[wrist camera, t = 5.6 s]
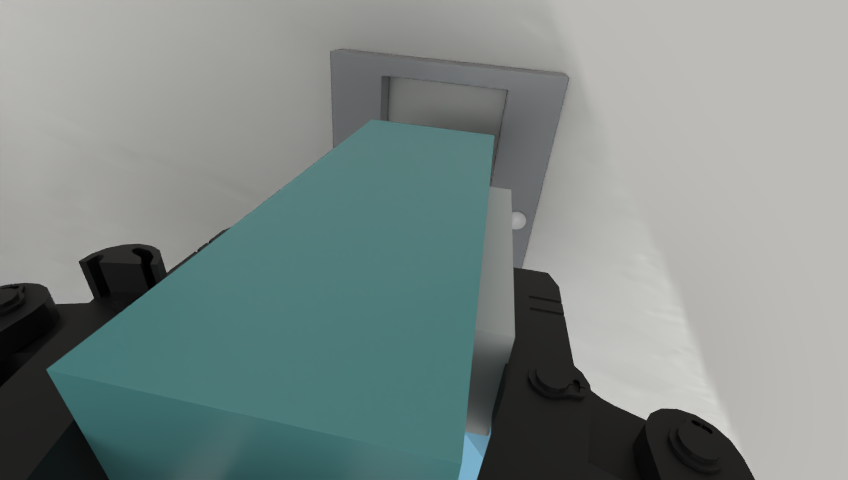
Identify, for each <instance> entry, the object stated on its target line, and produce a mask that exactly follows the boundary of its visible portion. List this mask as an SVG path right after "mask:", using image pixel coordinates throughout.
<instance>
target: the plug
mask: <svg viewBox="0 0 848 480" xmlns="http://www.w3.org/2000/svg"><path fill="white" fill-rule="evenodd" d="M494 136H495V135H488V134H481V133H473V132H465V131H458V130H450V129H442V128H435V127H427V126H419V125H412V124H404V123H396V122H389V121H381V120H373V119H372V120H370V121H369V122H368V123H366V124H365V125H364V126H363V127H361V128H360V129H359V130H357V131H356V132H355V133H353V134H352V135H351V136H350V137H348V138H347V139H346V140H344V141H343V142H342V143H340V144H339V145H338V146H337V147H335V148H334V149H333V150H331V151H330V152H329V153H327V154H326V155H325V156H324V157H322V158H321V159H320V160H318V161H317V162H316V163H314V164H313V165H312V166H310V167H309V168H308V169H307V170H305V171H304V172H303V173H301V174H300V175H299V176H297V177H296V178H295V179H294V180H292V181H291V182H290V183H288V184H287V185H286V186H284V187H283V188H282V189H281V190H279V191H278V192H277V193H275V194H274V195H273V196H271V197H270V198H269V199H268V200H266V201H265V202H264V203H262V204H261V205H260V206H258V207H257V208H256V209H255V210H253V211H252V212H251V213H249V214H248V215H247V216H245V217H244V218H243V219H242V220H240V221H239V222H238V223H236V224H235V225H234V226H232V227H231V228H230V229H229V230H227V231H226V232H225V233H223V234H222V235H221V236H219V237H218V238H217V239H215V240H214V241H213V242H212V243H210V244H209V245H208V246H206V247H205V248H204V249H202V250H201V251H200V252H199V253H197V254H196V255H195V256H193V257H192V258H191V259H189V260H188V261H187V262H186V263H184V264H183V265H182V266H180V267H179V268H178V269H176V270H175V271H174V272H173V273H171V274H170V275H169V276H167V277H166V278H165V279H163V280H162V281H161V282H160V283H158V284H157V285H156V286H154V287H153V288H152V289H150V290H149V291H148V292H147V293H145V294H144V295H143V296H141V297H140V298H139V299H137V300H136V301H135V302H133V303H132V304H131V305H130V306H128V307H127V308H126V309H124V310H123V311H122V312H120V313H119V314H118V315H117V316H115V317H114V318H113V319H111V320H110V321H109V322H107V323H106V324H105V325H104V326H102V327H101V328H100V329H98V330H97V331H96V332H94V333H93V334H92V335H91V336H89V337H88V338H87V339H85V340H84V341H83V342H81V343H80V344H79V345H78V346H76V347H75V348H74V349H72V350H71V351H70V352H68V353H67V354H66V355H65V356H63V357H62V358H61V359H59V360H58V361H57V362H55V363H54V364H53V365H52V366H50V367H49V368H48V369H46V370H47V372H48V374H49V375H50V377H51V379H52V381H53V382H54V384H55V386H56V388H57V389H58V391H59V393H60V395H61V396H62V398H63V400H64V402H65V403H66V405H67V407H68V409H69V410H70V412H71V414H72V415H73V417H74V419H75V421H76V422H77V424H78V426H79V428H80V429H81V431H82V433H83V435H84V436H85V438H86V440H87V442H88V443H89V445H90V447H91V449H92V450H93V452H94V454H95V455H96V457H97V459H98V461H99V462H100V464H101V466H102V468H103V469H104V471H105V473H106V475H107V476H108V478H109V480H458V478H459V474H460V469H461V465H462V456H463V446H464V436H465V426H466V416H467V406H468V396H469V386H470V376H471V366H472V356H473V346H474V336H475V326H476V316H477V306H478V296H479V286H480V276H481V266H482V256H483V246H484V236H485V226H486V216H487V206H488V196H489V186H490V176H491V166H492V156H493V146H494Z"/></svg>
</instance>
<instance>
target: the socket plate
mask: <svg viewBox="0 0 848 480" xmlns="http://www.w3.org/2000/svg"><path fill="white" fill-rule="evenodd" d="M330 60H331V90H332V120H333V149H334V148H335V147H337V146H338V145H339V144H340V143H342V142H343V141H344V140H346V139H347V138H348V137H350V136H351V135H352V134H353V133H355V132H356V131H357V130H359V129H360V128H361V127H363V126H364V125H365V124H366V123H368V122H369V121H370V120H372V119H373V120H381V121H387V118H388V90H389V76H391V77H399V78H408V79H417V80H425V81H434V82H443V83H451V84H460V85H469V86H477V87H486V88H495V89H503V90H507V96H506V101H505V107H504V113H503V118H502V124H501V129H500V135H499V140H498V146H497V152H496V157H495V163H494V168H493V174H492V179H491V185H490V187H496V188H503V189H510V190H511V200H512V238H513V267H515V268H521V269H522V265H523V261H524V257H525V253H526V249H527V245H528V241H529V237H530V233H531V229H532V225H533V221H534V217H535V213H536V209H537V205H538V201H539V197H540V193H541V189H542V185H543V181H544V177H545V173H546V169H547V165H548V161H549V157H550V153H551V149H552V145H553V141H554V137H555V133H556V129H557V125H558V121H559V117H560V113H561V109H562V105H563V101H564V97H565V93H566V89H567V85H568V81H569V77H568V76H567V75H566V74H565V73H557V72H548V71H539V70H529V69H520V68H511V67H502V66H493V65H484V64H475V63H465V62H456V61H447V60H438V59H429V58H420V57H410V56H401V55H392V54H383V53H374V52H365V51H356V50H346V49H339V50H334V51H330Z"/></svg>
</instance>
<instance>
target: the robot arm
mask: <svg viewBox="0 0 848 480" xmlns="http://www.w3.org/2000/svg"><path fill="white" fill-rule="evenodd" d="M229 229H230V228H228V229H226V230H223V231H222V232H220V233H219V234H218V235H216V236H215V237H214V238H212V239H211V240H210V241H209V243H206V244H204V245H203V246H202V247H200V248H199V249H198V251H197V252H194V253H193V254H191V255H190V256H189V257H187V258H186V259H185V260H183V261H182V262H181V263H179V264H178V265H177V266H175V267H174V268H173V269H171V270H170V271H169V272H167V273H166V270H165V267H164V263H163V260H162V257H161V253H160V250H158V249H156V248H155V247H153V246H149V245H143V244H127V245H120V246H115V247H110V248H106V249H103V250H101V251H98V252H95V253H92V254H90V255H89V256H87V257H85V258H84V259H82V260H80V261H79V264H80V266H81V268H82V271H83V273H84V275H85V278H86V280H87V282H88V285H89V287H90V289H91V292H92V294H93V296H94V299H93V300H92V301H91V302H90V303H78V304H55V303H54V301H53V299H52V297H51V295H50V293H49V291H48V289H47V287H44V286H42V285H40V284H33V283H20V284H13V285H12V284H10V285H4V286H0V480H109V478H108V476H107V475H106V473H105V471H104V469H103V468H102V466H101V464H100V462H99V461H98V459H97V457H96V455H95V454H94V452H93V450H92V449H91V447H90V445H89V443H88V442H87V440H86V438H85V436H84V435H83V433H82V431H81V429H80V428H79V426H78V424H77V422H76V421H75V419H74V417H73V415H72V414H71V412H70V410H69V409H68V407H67V405H66V403H65V402H64V400H63V398H62V396H61V395H60V393H59V391H58V389H57V388H56V386H55V384H54V382H53V381H52V379H51V377H50V375H49V374H48V372H47V370H46V369H48V368H49V367H50V366H52V365H53V364H54V363H55V362H57V361H58V360H59V359H61V358H62V357H63V356H65V355H66V354H67V353H68V352H70V351H71V350H72V349H74V348H75V347H76V346H78V345H79V344H80V343H81V342H83V341H84V340H85V339H87V338H88V337H89V336H91V335H92V334H93V333H94V332H96V331H97V330H98V329H100V328H101V327H102V326H104V325H105V324H106V323H107V322H109V321H110V320H111V319H113V318H114V317H115V316H117V315H118V314H119V313H120V312H122V311H123V310H124V309H126V308H127V307H128V306H130V305H131V304H132V303H133V302H135V301H136V300H137V299H139V298H140V297H141V296H143V295H144V294H145V293H147V292H148V291H149V290H150V289H152V288H153V287H154V286H156V285H157V284H158V283H160V282H161V281H162V280H163V279H165V278H166V277H167V276H169V275H170V274H171V273H173V272H174V271H175V270H176V269H178V268H179V267H180V266H182V265H183V264H184V263H186V262H187V261H188V260H189V259H191V258H192V257H193V256H195V255H196V254H197V253H199V252H200V251H201V250H202V249H204V248H205V247H206V246H208V245H209V244H210V243H212V242H213V241H214V240H215V239H217V238H218V237H219V236H221V235H222V234H223V233H225V232H226V231H227V230H229ZM490 428H491V435H490V439H489V442H488V445H487V448H486V452H485V455H484V458H483V461H482V464H481V468H480V471H479V474H478V477H477V480H755V479H754V477H753V475H752V473H751V471H750V469H749V468H748V466H747V464H746V462H745V460H744V459H743V457H742V456H741V454H740V453H739V451H738V450H737V449H736V447H735V446H734V445H733V443H732V442H731V441H730V440H729V439H728V438H727V437H726V436H725V435H724V434H722V433H721V432H720V431H719V430H718V429H717V428H716V427H714V426H713V425H711V424H710V423H708V422H706V421H705V420H703V419H701V418H699V417H698V416H696V415H694V414H691V413H688V412H684V411H681V410H678V409H659V410H657V411H655V412H653V413H651V414H650V415H649V417H648V419H647V420H644V419H642V418H640V417H638V416H636V415H633V414H631V413H629V412H627V411H625V410H623V409H620V408H618V407H616V406H614V405H612V404H610V403H609V402H607V401H605V400H603V399H601V398H600V397H599V396H598V395H596V394H595V393H594V392H592V391H591V389H590V384H589V383H588V381H587V380H586V378H585V377H584V375H583V374H582V372H581V371H579V370H578V369H577V368H576V367H575V366H574V363H573V358H572V353H571V348H570V343H569V337H568V332H567V327H566V322H565V317H564V311H563V306H562V304H561V296H560V291H559V286H558V285H557V284H556V283H555V281H554V280H553V279H552V278H551V276H550V275H549V274H548V273H545V272H539V271H533V270H527V269H521V268H515V267H513V238H512V200H511V190H510V189H503V188H496V187H490V186H489V196H488V206H487V216H486V226H485V236H484V246H483V256H482V266H481V276H480V286H479V296H478V306H477V316H476V326H475V336H474V346H473V356H472V366H471V376H470V386H469V396H468V406H467V416H466V426H465V432H470V433H474V434H479V435H483V436H489V432H490Z"/></svg>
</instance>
